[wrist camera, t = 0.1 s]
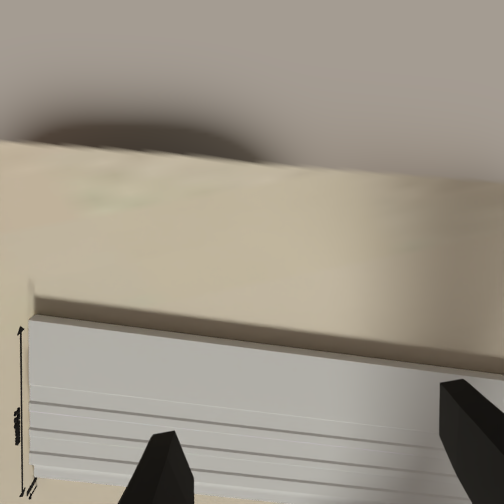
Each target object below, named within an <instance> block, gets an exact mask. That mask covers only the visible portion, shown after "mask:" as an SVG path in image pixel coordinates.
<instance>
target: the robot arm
mask: <svg viewBox="0 0 504 504" xmlns="http://www.w3.org/2000/svg"><path fill="white" fill-rule="evenodd" d="M439 436H440V439H441V441H442V444H443V446H444V448H445V451H446V453H447V455H448V458H449V460H450V462H451V464H452V467H453V469H454V471H455V473H456V475H457V477H458V479H459V481H460V483H461V485H462V486H463V488H464V490H465V492H466V493H467V495H468V497H469V499H470V501H471V502H472V504H504V413H503V412H502V411H501V410H500V409H499V408H497V407H496V406H495V405H494V404H493V403H492V402H490V401H489V400H488V399H487V398H486V397H485V396H483V395H482V394H481V393H480V392H479V391H478V390H476V389H475V388H474V387H473V386H472V385H471V384H470V383H468V382H467V381H466V380H464V379H458V380H452V381H447V382H441V383H440V399H439ZM118 504H194V477H193V474H192V472H191V469H190V467H189V464H188V462H187V459H186V457H185V454H184V452H183V449H182V447H181V444H180V442H179V439H178V437H177V434H176V432H175V430H174V431H168V432H163V433H157V434H153V435H152V436H151V438H150V440H149V442H148V444H147V446H146V448H145V450H144V452H143V455H142V457H141V459H140V461H139V463H138V465H137V467H136V469H135V471H134V473H133V475H132V477H131V479H130V481H129V483H128V485H127V487H126V489H125V491H124V493H123V495H122V497H121V499H120V500H119V502H118Z"/></svg>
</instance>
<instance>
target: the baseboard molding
mask: <svg viewBox="0 0 504 504" xmlns="http://www.w3.org/2000/svg"><path fill="white" fill-rule="evenodd" d="M23 330H24V328H22V327H21V326H20V328H19V331H18V334H17V335H19V334H20V375H21V469H22V493H21V495H20V496H19V497H23V494H24V491H25V488H24V490H23V437H22V331H23ZM458 379H464V380H466V381H467V382H468V383H470V384H471V385H472V386H473V387H474V388H475V389H476V390H478V391H479V392H480V393H481V394H482V395H483V396H485V397H486V398H487V399H488V400H489V401H490V402H492V403H493V404H494V405H495V406H496V407H497V408H499V409H500V410H501V411H502V412H503V413H504V375H503V374H495V373H488V372H480V371H472V370H464V369H457V368H449V367H441V366H433V365H425V364H418V363H410V362H402V361H394V360H387V359H379V358H371V357H363V356H356V355H348V354H340V353H332V352H325V351H317V350H309V349H301V348H294V347H286V346H278V345H270V344H262V343H255V342H247V341H239V340H231V339H224V338H216V337H208V336H200V335H193V334H185V333H177V332H169V331H162V330H154V329H146V328H138V327H131V326H123V325H115V324H107V323H100V322H92V321H84V320H76V319H68V318H61V317H53V316H45V315H37V314H36V315H34V316H32V317H31V318H30V319H29V385H30V401H29V411H30V428H29V436H30V452H29V464H30V465H33V466H34V477H35V479H34V480H33V482H32V484H31V486H30V487H29V489H28V491H27V496H28V494H29V493H30V491H31V488H33V486H34V481H35V482H36V480H37V477H39V478H48V479H58V480H68V481H77V482H87V483H96V484H106V485H115V486H125V487H127V485H128V483H129V481H130V479H131V477H132V475H133V473H134V471H135V469H136V467H137V465H138V463H139V461H140V459H141V457H142V455H143V452H144V450H145V448H146V446H147V444H148V442H149V440H150V438H151V436H152V435H153V434H157V433H163V432H168V431H174V430H175V432H176V434H177V437H178V439H179V442H180V444H181V447H182V449H183V452H184V454H185V457H186V459H187V462H188V464H189V467H190V469H191V472H192V474H193V477H194V494H201V495H210V496H220V497H229V498H239V499H248V500H258V501H267V502H277V503H286V504H472V502H471V501H470V499H469V497H468V495H467V493H466V492H465V490H464V488H463V486H462V485H461V483H460V481H459V479H458V477H457V475H456V473H455V471H454V469H453V467H452V464H451V462H450V460H449V458H448V455H447V453H446V451H445V448H444V446H443V444H442V441H441V439H440V436H439V399H440V383H441V382H447V381H452V380H458ZM16 415H17V417H16V418H14V423H15V425H14V429H15V433H16V434H15V436H17V437H16V438H15V442H16V443H15V445H18V444H19V443H20V420H18V419H20V408H19V407H18V408H17V411H15V412H14V416H16ZM36 487H37V486H36ZM36 487H35V489H36ZM35 489H34V490H35ZM34 490H33V492H34ZM33 492H32V494H33ZM32 494H31V493H30V496H29V499H31V496H32Z"/></svg>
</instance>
